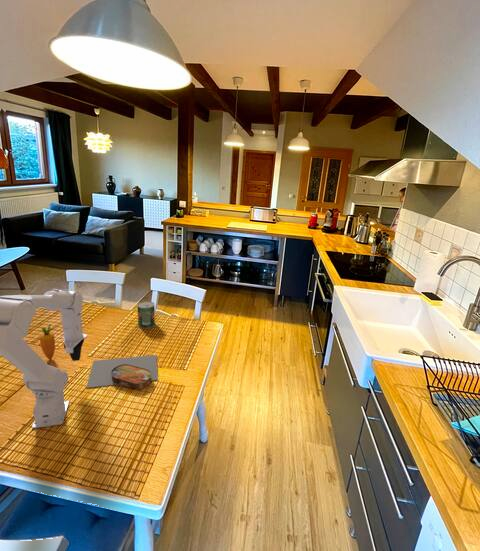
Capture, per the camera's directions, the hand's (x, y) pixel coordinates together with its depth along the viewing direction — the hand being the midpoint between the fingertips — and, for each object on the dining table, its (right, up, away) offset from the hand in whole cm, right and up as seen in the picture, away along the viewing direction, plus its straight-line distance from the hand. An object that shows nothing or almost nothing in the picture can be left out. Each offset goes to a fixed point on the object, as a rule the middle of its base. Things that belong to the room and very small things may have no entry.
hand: (76, 359), depth 107 cm
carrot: (-18, -4, +14) cm, 23 cm away
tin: (+16, -9, +2) cm, 18 cm away
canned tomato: (+11, +5, +45) cm, 46 cm away
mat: (+13, -7, +11) cm, 18 cm away
